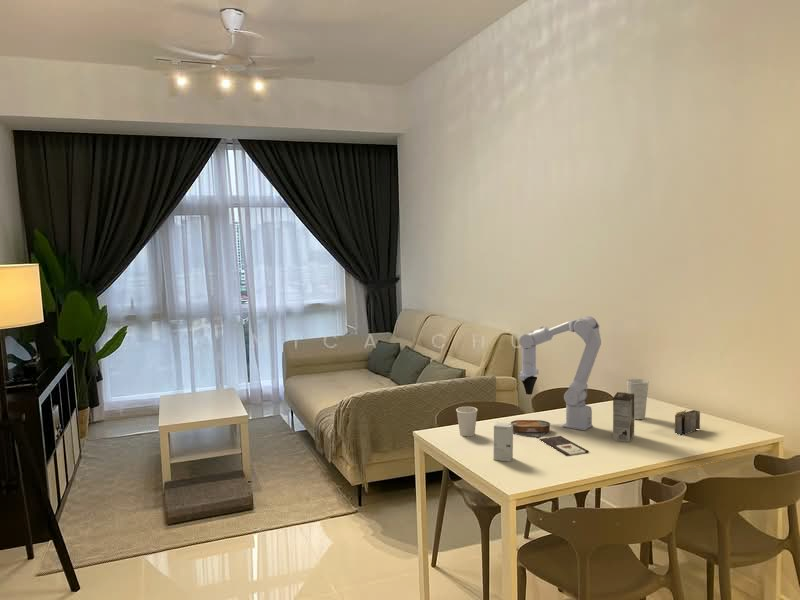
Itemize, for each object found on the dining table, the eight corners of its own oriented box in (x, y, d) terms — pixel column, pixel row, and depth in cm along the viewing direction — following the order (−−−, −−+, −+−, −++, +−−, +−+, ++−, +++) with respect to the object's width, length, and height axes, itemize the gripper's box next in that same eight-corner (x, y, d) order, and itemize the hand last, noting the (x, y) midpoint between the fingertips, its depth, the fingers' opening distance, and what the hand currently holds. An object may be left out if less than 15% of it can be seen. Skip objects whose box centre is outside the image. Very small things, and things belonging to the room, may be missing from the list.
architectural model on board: (682, 436, 225) (682, 411, 224) (674, 434, 227) (675, 409, 226) (700, 431, 230) (701, 406, 229) (693, 429, 233) (693, 404, 232)
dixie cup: (462, 439, 228) (462, 413, 227) (452, 432, 235) (452, 408, 234) (482, 436, 231) (481, 410, 230) (471, 430, 238) (471, 405, 237)
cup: (623, 419, 247) (624, 382, 246) (629, 413, 254) (629, 377, 253) (645, 422, 242) (645, 384, 241) (650, 416, 249) (650, 380, 248)
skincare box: (493, 460, 205) (492, 425, 204) (496, 455, 209) (495, 421, 208) (511, 462, 202) (510, 427, 201) (513, 457, 207) (513, 423, 206)
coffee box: (616, 433, 230) (617, 391, 228) (634, 435, 226) (635, 393, 225) (612, 440, 222) (612, 397, 220) (630, 442, 219) (631, 399, 217)
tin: (548, 420, 238) (551, 425, 230) (548, 428, 238) (551, 433, 230) (509, 419, 239) (511, 424, 231) (509, 427, 239) (512, 432, 231)
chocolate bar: (560, 435, 227) (588, 451, 209) (560, 438, 227) (588, 453, 210) (539, 438, 224) (566, 454, 207) (539, 441, 224) (566, 457, 207)
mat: (546, 432, 233) (546, 430, 233) (537, 438, 226) (537, 436, 226) (506, 425, 243) (506, 423, 243) (497, 430, 237) (497, 429, 237)
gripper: (527, 358, 257) (527, 389, 259) (512, 364, 246) (512, 396, 247) (543, 359, 253) (543, 391, 254) (528, 365, 242) (528, 398, 243)
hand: (529, 394), depth 251 cm, fingers closed
